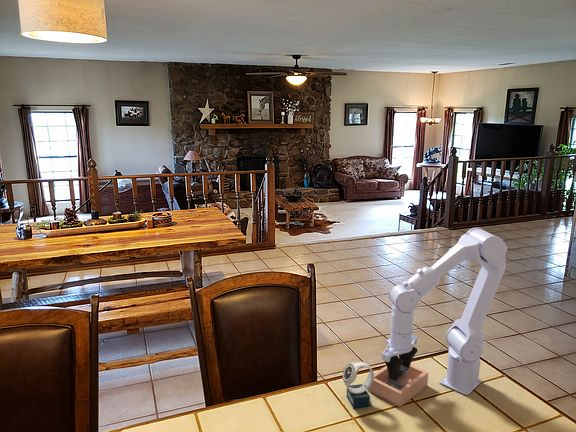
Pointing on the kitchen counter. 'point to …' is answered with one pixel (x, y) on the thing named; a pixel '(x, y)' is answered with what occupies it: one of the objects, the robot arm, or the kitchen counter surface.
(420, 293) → the robot arm
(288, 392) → the kitchen counter surface
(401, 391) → the salmon pink open box
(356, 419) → the kitchen counter surface
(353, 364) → the watch
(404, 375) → the grey metal t-piece
